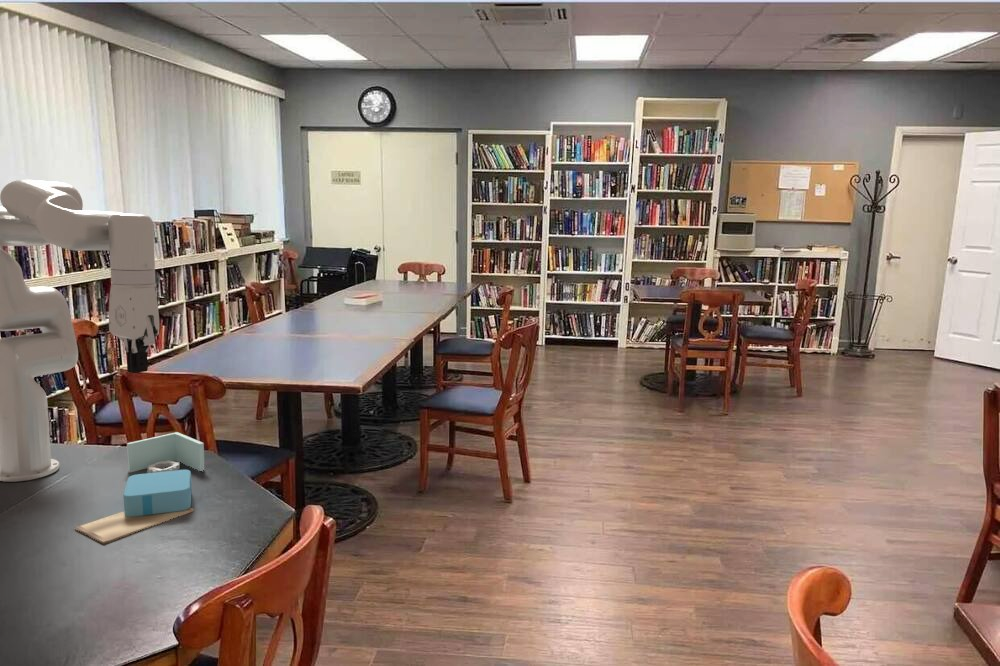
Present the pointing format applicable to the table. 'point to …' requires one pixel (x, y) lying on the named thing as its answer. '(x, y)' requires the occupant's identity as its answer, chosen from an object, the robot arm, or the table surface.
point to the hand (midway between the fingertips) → (137, 371)
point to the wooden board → (124, 525)
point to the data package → (157, 493)
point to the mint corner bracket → (165, 453)
